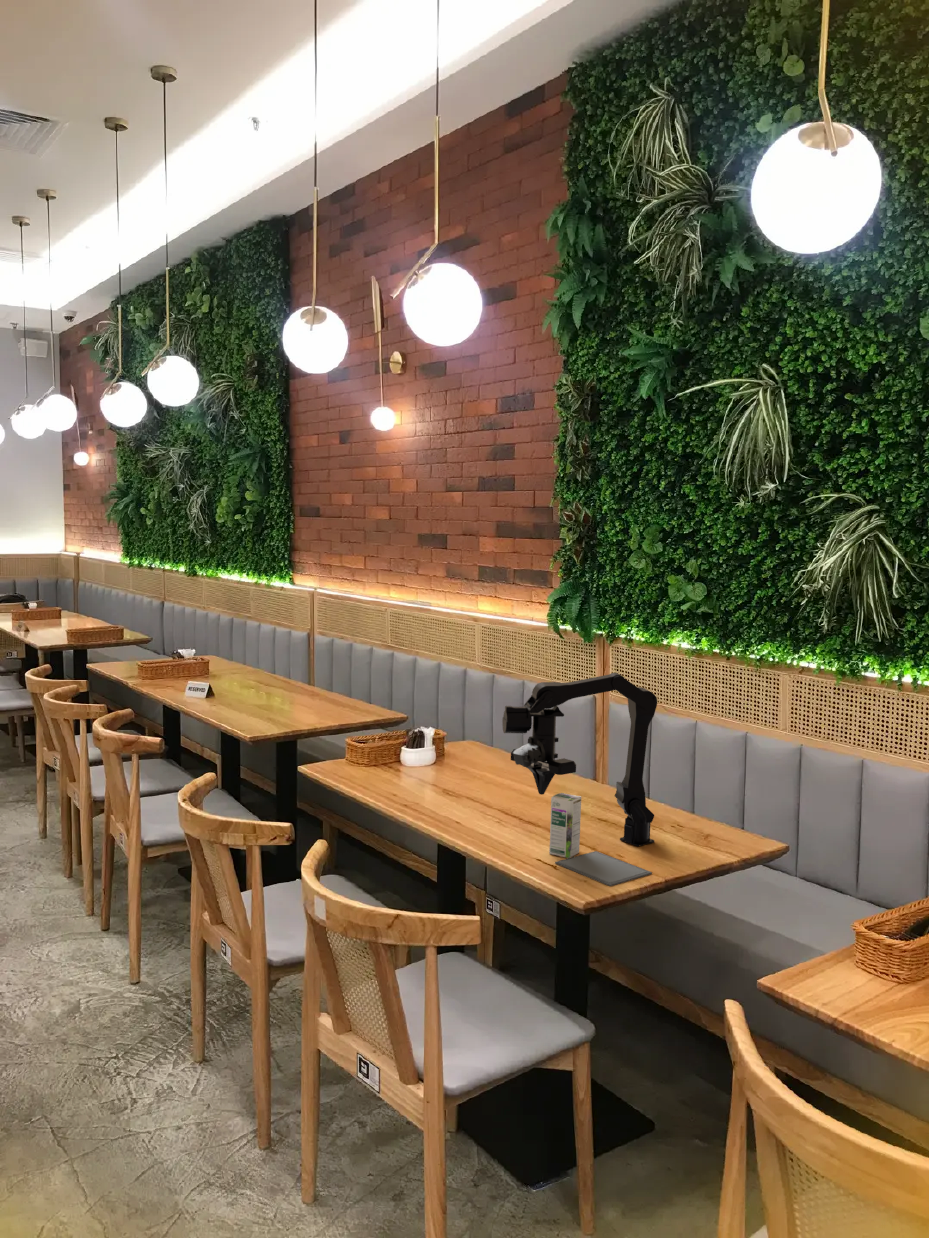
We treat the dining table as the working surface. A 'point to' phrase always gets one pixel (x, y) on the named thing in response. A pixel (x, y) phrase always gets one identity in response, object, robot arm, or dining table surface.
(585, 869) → the mat
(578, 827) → the syrup box
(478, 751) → the dining table surface
